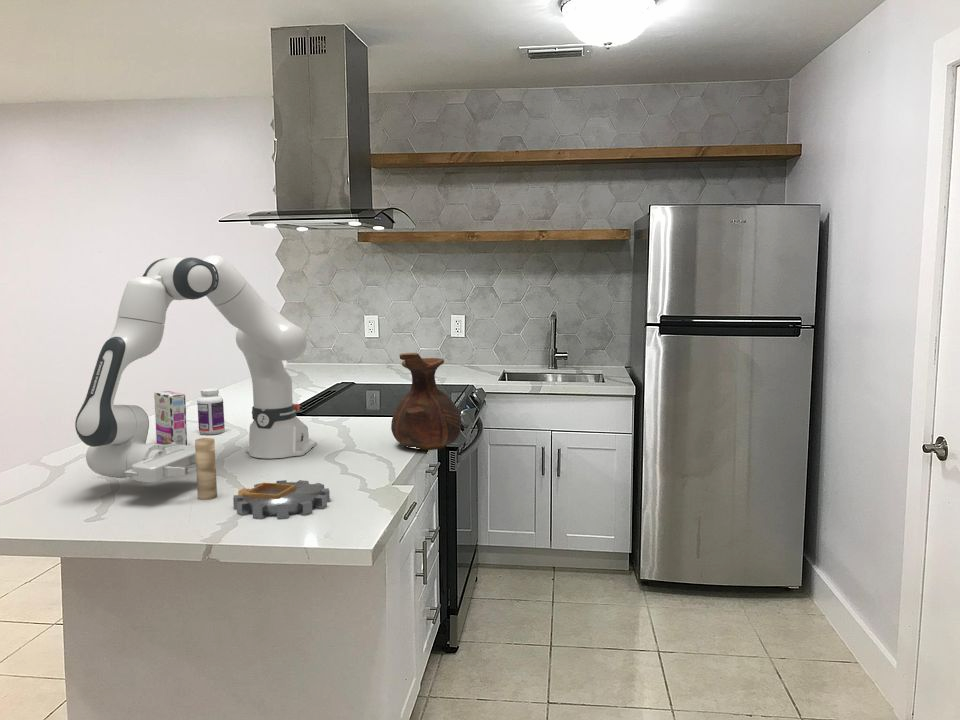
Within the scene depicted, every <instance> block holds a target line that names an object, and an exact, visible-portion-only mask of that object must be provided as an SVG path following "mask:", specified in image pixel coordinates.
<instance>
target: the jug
mask: <svg viewBox="0 0 960 720" xmlns="http://www.w3.org/2000/svg"><path fill="white" fill-rule="evenodd" d="M399 359H400V360H402V362H401V366H402V367H404V368H405V369H408V371H410V374H411V388H410V390H409V392H407V394H405V395H404V396H403V397H402V398H401V399H400V400H399V402H398V403H397V406H396V408H395V410H394V412H393V415H392V419H391V425H390V429H391V433H392V435H393V438H394V439H395V441H396V442H398V443H399V444H400V445H402V446H404V447H405V446H408V447H416V448H420V449H421V450H423V451H433V450H441V449H443V448H446V447H448V446H450V445H451V444H452V443H455V442H456V441H457V439H458V438H459V437H460V434H461V432H462V431H461V430H462V417H461V413H460V411H459V409H458V408H457V406H456V404H455V403H454V401H453V400H452V398H451V397H449V396H448V394H446V393H444V392H442V391H441V390H440V389H439V388H438V386H437V382H436V372H437V369H438V368H440V367H441V366H442V365H444V363H445V359H443V358H439V357H425V358H424V357H423V358H422V357H421V355H420V354H419V353H417V352H407V353H406V352H405V353H400V354H399Z"/></svg>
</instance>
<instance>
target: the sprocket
mask: <svg viewBox="0 0 960 720" xmlns="http://www.w3.org/2000/svg"><path fill="white" fill-rule="evenodd" d="M237 493H238V494H235V495H233V497H232V499H233V500H232V501H233V510H236V514H238V515H241V516H246V515H252V518H253V519H258V518H262V519H261V520H263V519H265V518H267V517H277V520H281V519H289V516H294V515H301V516H307V515H311V514H313V510H314V509H317V510H319V509H320V510H323V509H325V508H326V507H327V506H328V502H331V501H330V500H331V499H330V497H331V496H330V495H331V494H330V489H329V488H327V487H326V488H325V484H323V483H320V482H317V483H309V480H303V479H302V480H297V481H296V482H295V481H289V482H287V479H286V480H284V479H282V480H276V483H275V482H274V483H273V482H261V483H257V484H253V487H252V488H245V487H243V488H241V489H240V490H238V492H237Z"/></svg>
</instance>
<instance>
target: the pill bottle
mask: <svg viewBox="0 0 960 720" xmlns="http://www.w3.org/2000/svg"><path fill="white" fill-rule="evenodd" d="M219 393H220V391H219V388H215V387H214V388H212V387H211V388H210V387H209V388H203V389H200V395H201V396H200V397H198V398H197V421H198V432H199V433H200V434H201V435H205V436H206V435H207V436H208V435H209V436H210V435H211V436H213V435H219V434H222V433H223V432H224V431H225V429H226V428H225V426H226V425H225V412H224V411H225V410H224V409H225V408H224V398H223V397H222V396H220V395H219Z"/></svg>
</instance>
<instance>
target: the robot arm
mask: <svg viewBox="0 0 960 720" xmlns="http://www.w3.org/2000/svg"><path fill="white" fill-rule="evenodd" d="M203 297H207V298H208V300H209V301H210V303H211V304H212V305H213V306H214V307H215V308H216V309H217V310H218V312H219V313H220V314H221V315H222V316H223V317H224V318H225V320H227V321H228V323H229V324H231V325H232V327H235V328H237V331H236V334H235V343H236V345H237V348H238V349H239V350H240V351H241V352H242V354H243V356H244V358H245V360H246V363H247V367H248V370H249V373H250V377H251V383H252V398H253V400H252V401H253V403H252V404H253V406H252V407H251V408H252V409H251V415H252V416H251V418H252V422H251V423H250V424H249V433H248V446H247V447H245V452H246V453H248V455H249V456H250V457H253V458H258V459H282V458H284V459H285V458H289V457H299V456H304V455H306V454H307V453H309V451H311V450H312V449H313V448H314V447H315V446H316V445H318V442H317V440H315V439H310V438H309V434H310V433H309V427H308V426H307V425H306V424H305V423H304V422H303V421H302V420H300V419H299V417H297V411H300V409H301V408H300V407H301V405H300V403H294V402H293V381H292V377H291V375H290V374H289V373H288V372H287V370H286V368H285V366H284V364H283V361H291V360H295V359H298V358H300V357H302V355H303V354H304V353H305V351H306V349H307V346H308V338H307V335H306V332H305V331H304V330H303V328H302V327H300V326H298V325H297V324H295V323H293V322H291V321H290V320H288V319H287V318H286V317H285V316H283V314H281V313H280V312H279V311H277V309H275V308H274V307H272V306H271V305H270V304H269V303H268V302H266V301H265V300H264V299H263V297H261V296H260V294H259V293H258V292H257V291H256V289H254V287H253V286H252V285H251V284H250V283H249V281H248V280H247V279H246V278H245V276H244V275H243V274H242V273H241V272H240V271H239V270H238V269H237V268H236V267H235V266H234V265H233V264H231V263H230V262H229V260H227V259H226V258H224V257H223V256H222V255H219V254H211V255H207V256H205V257H203V258H202V259H201V258H198V257H185V256H174V257H170V258H169V257H168V258H166V257H165V258H160V259H157V260H154V261H153V262H152V263H151V264H149V265H148V266H147V268H146V269H145V272H144V273H143V274H142V276H137V277H133V278H131V279H130V280H128V281H127V283H126V285H125V288H124V291H123V293H122V296H121V299H120V303H119V306H118V312H117V317H116V320H115V321H116V322H115V324H114V328H113V331H112V333H111V334H110V336H109V338H108V339H107V340H106V341H105V342H104V343H103V346H102V347H101V350H100V351H99V354H98V358H97V360H96V363H95V366H94V369H93V374H92V377H91V380H90V384H89V387H88V390H87V393H86V395H85V398H84V401H83V404H81V407H80V409H79V411H78V412H77V415H76V416H75V417H76V418H75V422H74V424H75V425H74V427H75V432H76V434H77V436H78V438H79V440H81V442H83V444H85V445H86V446H89V447H88V449H86V452H85V453H86V454H85V461H86V465H87V467H88V468H89V469H90V470H91V472H93V473H95V474H98V475H99V476H102V477H108V478H115V479H124V478H129V479H132V480H133V481H138V482H143V483H158V482H159V481H162V480H164V479H167V478H169V477H175V476H182V477H183V476H185V475H187V474H188V473H189V471H188V470H189V469H191V468H193V467H196V452H195V445H188V444H187V445H176V443H175V442H166V443H160V444H157V443H147V440H148V439H147V438H148V435H149V434H148V433H149V429H150V420H149V416H148V414H147V413H146V411H145V410H144V409H143V408H142V407H140V406H139V405H132V404H115V403H114V402H115V398H116V395H117V391H118V388H119V384H120V380H121V379H122V374H123V372H124V370H125V369H126V368H127V366H129V365H130V364H131V363H133V362H135V361H137V360H139V359H142V358H145V357H147V356H150V355H151V354H153V353H154V352H155V351H156V350H157V349H158V348H159V346H160V345H161V342H162V340H163V336H164V332H165V331H164V330H165V324H166V319H167V317H166V316H167V310H168V308H169V307H170V305H171V303H172V302H173V301H183V300H191V301H193V300H198V299H201V298H203ZM312 447H313V448H312ZM311 448H312V449H311ZM305 453H306V454H305Z"/></svg>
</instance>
